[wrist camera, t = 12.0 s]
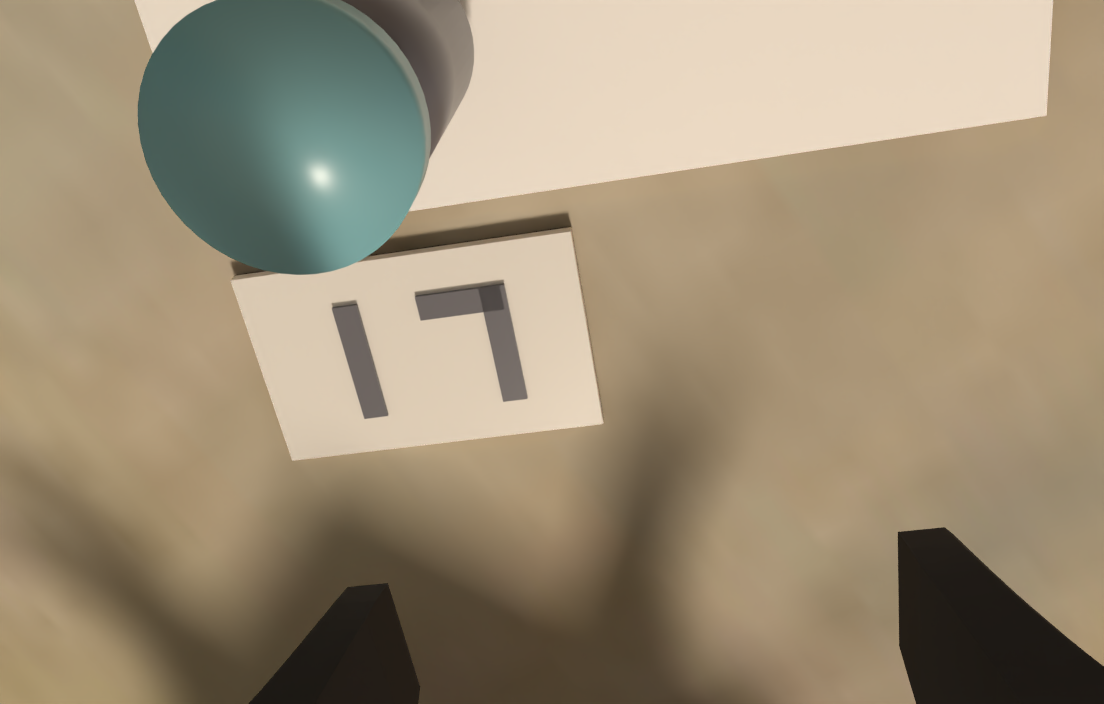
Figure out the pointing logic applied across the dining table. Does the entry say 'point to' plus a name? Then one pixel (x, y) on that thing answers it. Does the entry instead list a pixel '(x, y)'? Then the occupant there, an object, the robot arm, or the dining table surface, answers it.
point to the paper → (712, 83)
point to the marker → (301, 122)
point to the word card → (426, 346)
